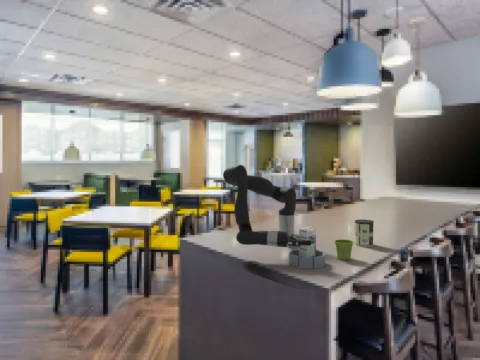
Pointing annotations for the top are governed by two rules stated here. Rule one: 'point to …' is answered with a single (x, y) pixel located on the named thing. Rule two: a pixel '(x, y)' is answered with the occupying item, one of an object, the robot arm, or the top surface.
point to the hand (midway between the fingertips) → (311, 241)
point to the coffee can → (364, 233)
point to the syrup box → (310, 236)
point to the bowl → (307, 260)
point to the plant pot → (343, 248)
